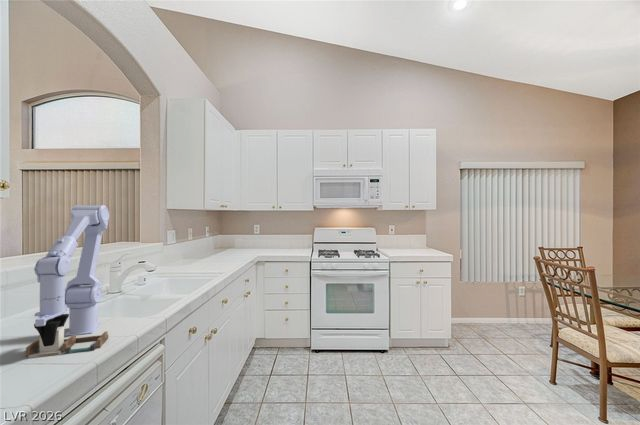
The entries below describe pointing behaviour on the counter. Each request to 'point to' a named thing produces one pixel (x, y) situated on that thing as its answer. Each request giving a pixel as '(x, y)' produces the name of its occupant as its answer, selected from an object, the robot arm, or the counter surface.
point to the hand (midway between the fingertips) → (52, 342)
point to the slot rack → (68, 345)
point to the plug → (57, 344)
